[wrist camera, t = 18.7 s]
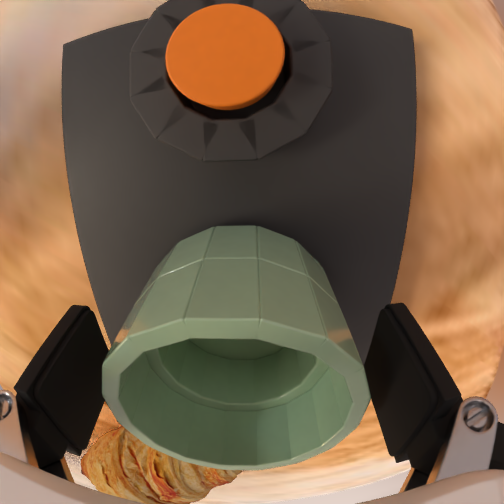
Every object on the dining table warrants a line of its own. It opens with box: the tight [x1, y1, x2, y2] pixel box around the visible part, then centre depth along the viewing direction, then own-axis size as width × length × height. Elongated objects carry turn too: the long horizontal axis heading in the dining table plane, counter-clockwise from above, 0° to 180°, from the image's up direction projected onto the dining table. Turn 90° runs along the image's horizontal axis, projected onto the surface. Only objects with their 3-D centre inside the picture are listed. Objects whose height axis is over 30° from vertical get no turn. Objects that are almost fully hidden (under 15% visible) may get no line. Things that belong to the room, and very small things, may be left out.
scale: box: [62, 0, 417, 366], centre depth 10 cm, size 16×13×3 cm
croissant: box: [81, 426, 242, 504], centre depth 17 cm, size 21×10×8 cm, turn 123°
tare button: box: [165, 4, 285, 110], centre depth 6 cm, size 3×3×2 cm
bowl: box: [102, 225, 371, 470], centre depth 9 cm, size 7×7×6 cm
